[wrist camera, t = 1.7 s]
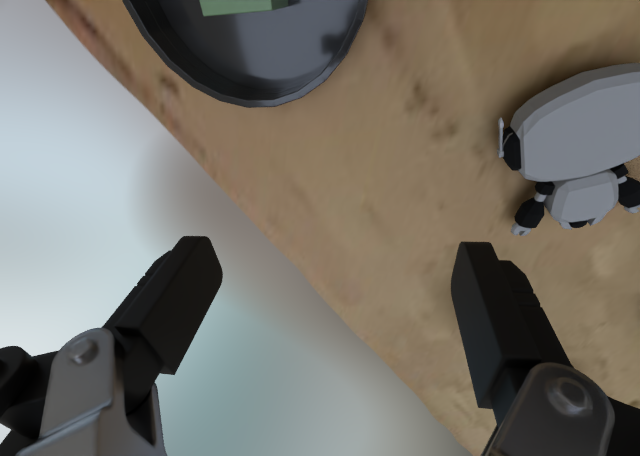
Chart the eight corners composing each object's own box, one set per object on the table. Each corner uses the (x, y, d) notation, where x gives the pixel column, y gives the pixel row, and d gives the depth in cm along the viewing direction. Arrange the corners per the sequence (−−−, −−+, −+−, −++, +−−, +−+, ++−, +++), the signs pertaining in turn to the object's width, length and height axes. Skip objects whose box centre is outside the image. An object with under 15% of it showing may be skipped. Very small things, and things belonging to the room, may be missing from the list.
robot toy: (635, 191, 31) (671, 28, 22) (667, 221, 28) (725, 43, 19) (498, 221, 35) (484, 95, 27) (512, 250, 32) (500, 117, 23)
